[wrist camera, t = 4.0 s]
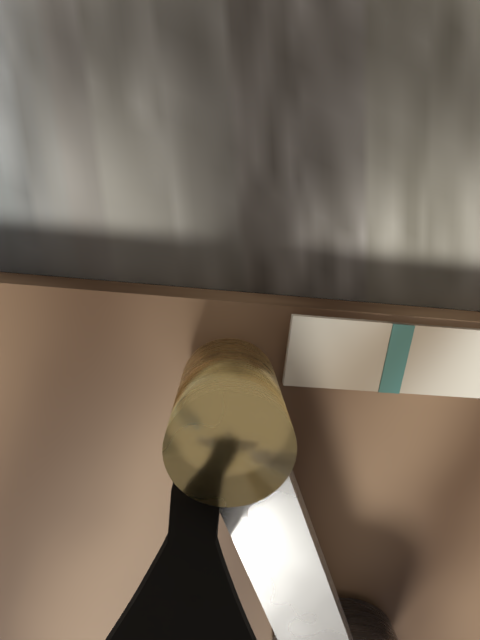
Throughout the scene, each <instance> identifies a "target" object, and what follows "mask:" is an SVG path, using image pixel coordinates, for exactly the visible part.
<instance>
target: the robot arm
mask: <svg viewBox="0 0 480 640" xmlns="http://www.w3.org/2000/svg"><path fill="white" fill-rule="evenodd" d="M219 509H220V507H217V506H211V505H207V504H204V503H201V502H199V501H197V500H194V499H193V498H191V497H189V496H188V495H186V494H185V493H184V492H182V491H181V490H180V489H179V488H178V487H177V486H176V485H175V484H174V482H173V485H172V489H171V498H170V512H169V526H168V534H167V536H166V538H165V540H164V542H163V544H162V546H161V548H160V549H159V551H158V553H157V555H156V557H155V558H154V560H153V562H152V564H151V566H150V567H149V569H148V571H147V573H146V574H145V576H144V578H143V580H142V582H141V583H140V585H139V587H138V588H137V590H136V592H135V593H134V595H133V597H132V598H131V600H130V602H129V603H128V605H127V606H126V608H125V610H124V611H123V613H122V614H121V616H120V618H119V619H118V621H117V622H116V624H115V625H114V627H113V628H112V630H111V631H110V633H109V634H108V636H107V638H106V639H105V640H257V639H256V637H255V634H254V632H253V630H252V628H251V625H250V623H249V621H248V619H247V616H246V614H245V611H244V609H243V607H242V604H241V602H240V599H239V597H238V594H237V592H236V589H235V586H234V584H233V581H232V578H231V576H230V573H229V570H228V568H227V565H226V562H225V559H224V556H223V553H222V550H221V547H220V543H219V540H218V537H217V536H218V524H219V513H220V512H219Z"/></svg>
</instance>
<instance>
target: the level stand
mask: <svg viewBox="0 0 480 640" xmlns="http://www.w3.org/2000/svg"><path fill="white" fill-rule="evenodd" d="M225 338H232V339H239V340H244V341H246V342H249V343H251V344H253V345H255V346H256V347H258V348H259V349H260V350H261V351H262V352H263V353H264V354H265V355H266V356H267V357H268V359H269V360H270V362H271V364H272V367H273V369H274V372H275V375H276V378H277V381H278V384H279V387H280V390H281V393H282V396H283V399H284V402H285V405H286V408H287V411H288V414H289V417H290V420H291V423H292V426H293V429H294V432H295V436H296V440H297V456H296V461H295V464H294V467H293V469H292V470H293V472H294V475H295V478H296V481H297V483H298V486H299V489H300V492H301V494H302V497H303V500H304V503H305V506H306V508H307V511H308V514H309V517H310V519H311V522H312V525H313V528H314V530H315V533H316V536H317V539H318V541H319V544H320V547H321V550H322V553H323V555H324V558H325V561H326V564H327V566H328V569H329V572H330V575H331V577H332V580H333V583H334V586H335V588H336V591H337V594H338V597H339V598H341V597H342V598H353V599H359V600H362V601H366V602H368V603H371V604H373V605H374V606H376V607H378V608H379V609H380V610H382V611H383V612H384V613H385V614H386V615H387V616H388V618H389V620H390V621H391V624H392V626H393V628H394V631H395V633H396V635H397V638H398V640H480V312H478V311H466V310H454V309H442V308H430V307H417V306H405V305H393V304H381V303H369V302H357V301H345V300H333V299H321V298H309V297H297V296H285V295H273V294H261V293H249V292H236V291H224V290H212V289H200V288H188V287H176V286H164V285H152V284H140V283H128V282H116V281H104V280H92V279H80V278H68V277H55V276H43V275H31V274H19V273H7V272H0V640H105V639H106V638H107V636H108V634H109V633H110V631H111V630H112V628H113V627H114V625H115V624H116V622H117V621H118V619H119V618H120V616H121V614H122V613H123V611H124V610H125V608H126V606H127V605H128V603H129V602H130V600H131V598H132V597H133V595H134V593H135V592H136V590H137V588H138V587H139V585H140V583H141V582H142V580H143V578H144V576H145V574H146V573H147V571H148V569H149V567H150V566H151V564H152V562H153V560H154V558H155V557H156V555H157V553H158V551H159V549H160V548H161V546H162V544H163V542H164V540H165V538H166V536H167V534H168V526H169V512H170V498H171V489H172V485H173V481H172V480H171V478H170V477H169V475H168V473H167V471H166V468H165V466H164V461H163V455H162V447H163V440H164V436H165V432H166V429H167V425H168V422H169V418H170V415H171V411H172V408H173V405H174V401H175V398H176V394H177V391H178V387H179V384H180V380H181V377H182V373H183V370H184V367H185V365H186V363H187V361H188V359H189V358H190V357H191V355H192V354H193V353H194V352H195V351H196V350H197V349H199V348H200V347H201V346H203V345H205V344H207V343H209V342H211V341H215V340H218V339H225ZM217 537H218V540H219V543H220V547H221V550H222V553H223V556H224V559H225V562H226V565H227V568H228V570H229V573H230V576H231V578H232V581H233V584H234V586H235V589H236V592H237V594H238V597H239V599H240V602H241V604H242V607H243V609H244V611H245V614H246V616H247V619H248V621H249V623H250V625H251V628H252V630H253V632H254V634H255V637H256V639H257V640H272V638H273V636H274V631H273V629H272V627H271V624H270V622H269V620H268V618H267V616H266V613H265V611H264V609H263V607H262V604H261V602H260V600H259V598H258V596H257V593H256V591H255V589H254V587H253V585H252V582H251V580H250V578H249V576H248V574H247V571H246V569H245V567H244V565H243V562H242V560H241V558H240V556H239V554H238V551H237V549H236V547H235V545H234V543H233V540H232V538H231V536H230V534H229V532H228V529H227V527H226V525H225V523H224V521H223V518H222V516H221V514H220V513H219V524H218V536H217Z"/></svg>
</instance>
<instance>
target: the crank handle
mask: <svg viewBox="0 0 480 640" xmlns="http://www.w3.org/2000/svg"><path fill="white" fill-rule="evenodd" d="M162 455H163V461H164V466H165V468H166V471H167V473H168V475H169V477H170V478H171V480H172V481H173V482H174V484H175V485H176V486H177V487H178V488H179V489H180V490H181V491H182V492H184V493H185V494H186V495H188V496H189V497H191V498H193V499H194V500H197V501H199V502H201V503H204V504H207V505H211V506H217V507H220V509H219V512H220V514H221V516H222V518H223V521H224V523H225V525H226V527H227V529H228V532H229V534H230V536H231V538H232V540H233V543H234V545H235V547H236V549H237V551H238V554H239V556H240V558H241V560H242V562H243V565H244V567H245V569H246V571H247V574H248V576H249V578H250V580H251V582H252V585H253V587H254V589H255V591H256V593H257V596H258V598H259V600H260V602H261V604H262V607H263V609H264V611H265V613H266V616H267V618H268V620H269V622H270V624H271V627H272V629H273V631H274V636H273V638H272V640H398V638H397V635H396V633H395V631H394V628H393V626H392V624H391V621H390V620H389V618H388V616H387V615H386V614H385V613H384V612H383V611H382V610H380V609H379V608H378V607H376V606H374V605H373V604H371V603H368V602H366V601H362V600H359V599H353V598H342V597H341V598H339V597H338V594H337V591H336V588H335V586H334V583H333V580H332V577H331V575H330V572H329V569H328V566H327V564H326V561H325V558H324V555H323V553H322V550H321V547H320V544H319V541H318V539H317V536H316V533H315V530H314V528H313V525H312V522H311V519H310V517H309V514H308V511H307V508H306V506H305V503H304V500H303V497H302V494H301V492H300V489H299V486H298V483H297V481H296V478H295V475H294V472H293V470H292V469H293V467H294V464H295V461H296V456H297V440H296V436H295V432H294V429H293V426H292V423H291V420H290V417H289V414H288V411H287V408H286V405H285V402H284V399H283V396H282V393H281V390H280V387H279V384H278V381H277V378H276V375H275V372H274V369H273V367H272V364H271V362H270V360H269V359H268V357H267V356H266V355H265V354H264V353H263V352H262V351H261V350H260V349H259V348H258V347H256V346H255V345H253V344H251V343H249V342H246V341H244V340H239V339H232V338H225V339H218V340H215V341H211V342H209V343H207V344H205V345H203V346H201V347H200V348H199V349H197V350H196V351H195V352H194V353H193V354H192V355H191V357H190V358H189V359H188V361H187V363H186V365H185V367H184V370H183V373H182V377H181V380H180V384H179V387H178V391H177V394H176V398H175V401H174V405H173V408H172V411H171V415H170V418H169V422H168V425H167V429H166V432H165V436H164V440H163V447H162Z"/></svg>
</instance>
